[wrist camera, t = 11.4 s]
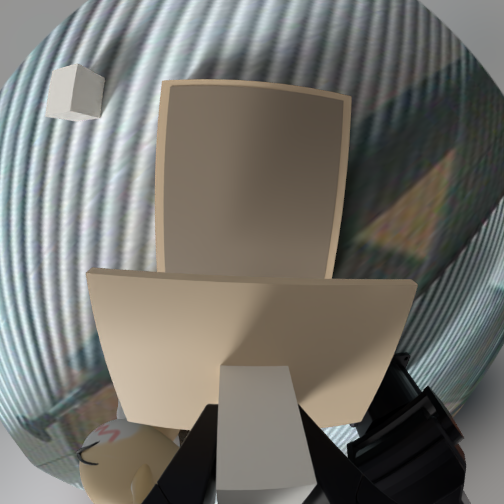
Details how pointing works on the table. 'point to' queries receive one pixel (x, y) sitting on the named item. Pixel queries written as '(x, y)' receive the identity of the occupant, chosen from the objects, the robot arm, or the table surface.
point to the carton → (249, 178)
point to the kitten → (125, 460)
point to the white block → (75, 94)
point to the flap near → (249, 362)
